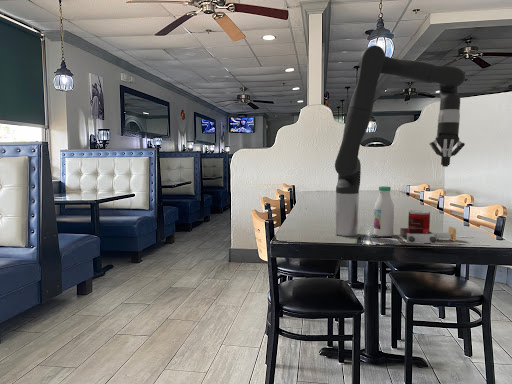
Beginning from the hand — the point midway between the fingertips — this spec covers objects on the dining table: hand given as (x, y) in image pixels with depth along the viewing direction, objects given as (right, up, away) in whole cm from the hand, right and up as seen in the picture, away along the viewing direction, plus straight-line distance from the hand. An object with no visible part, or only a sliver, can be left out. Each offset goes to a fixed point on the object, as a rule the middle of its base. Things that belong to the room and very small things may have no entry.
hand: (445, 166), depth 153 cm
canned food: (-11, -29, -2) cm, 31 cm away
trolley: (-8, -29, -2) cm, 30 cm away
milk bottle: (-22, -28, +8) cm, 36 cm away
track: (-3, -29, -3) cm, 29 cm away
